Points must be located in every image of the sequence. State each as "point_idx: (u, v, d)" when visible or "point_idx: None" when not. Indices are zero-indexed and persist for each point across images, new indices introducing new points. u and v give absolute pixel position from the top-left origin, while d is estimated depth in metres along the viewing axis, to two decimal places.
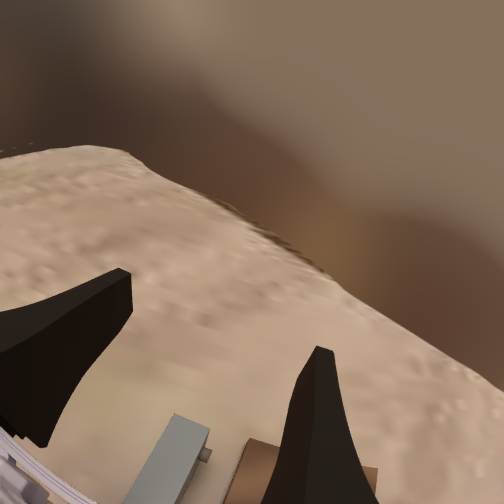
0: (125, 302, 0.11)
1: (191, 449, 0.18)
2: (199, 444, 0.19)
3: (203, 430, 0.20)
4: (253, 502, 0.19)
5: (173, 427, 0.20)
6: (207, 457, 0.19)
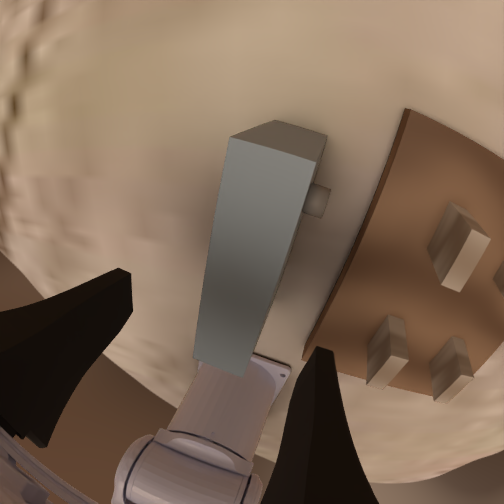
0: (125, 302, 0.11)
1: (281, 219, 0.11)
2: (294, 205, 0.10)
3: (301, 170, 0.10)
4: (405, 240, 0.15)
5: (236, 172, 0.10)
6: (319, 214, 0.11)
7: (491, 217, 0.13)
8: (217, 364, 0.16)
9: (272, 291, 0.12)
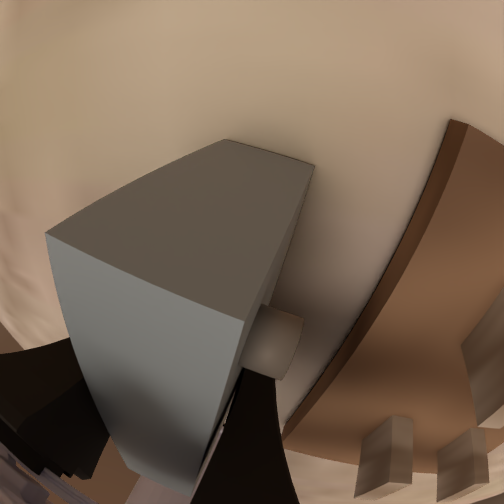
0: None
1: (183, 401, 0.04)
2: (205, 390, 0.04)
3: (205, 334, 0.03)
4: (432, 337, 0.09)
5: (78, 308, 0.04)
6: (275, 377, 0.05)
7: None
8: (157, 481, 0.10)
9: (199, 462, 0.06)
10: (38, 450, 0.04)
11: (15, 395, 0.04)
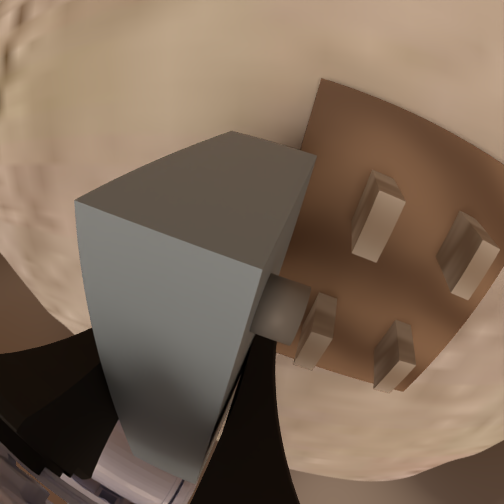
0: None
1: (198, 364, 0.05)
2: (222, 348, 0.05)
3: (226, 285, 0.04)
4: (326, 212, 0.16)
5: (101, 273, 0.05)
6: (284, 342, 0.05)
7: (425, 186, 0.13)
8: (162, 468, 0.10)
9: (208, 438, 0.07)
10: (38, 450, 0.04)
11: (15, 395, 0.04)
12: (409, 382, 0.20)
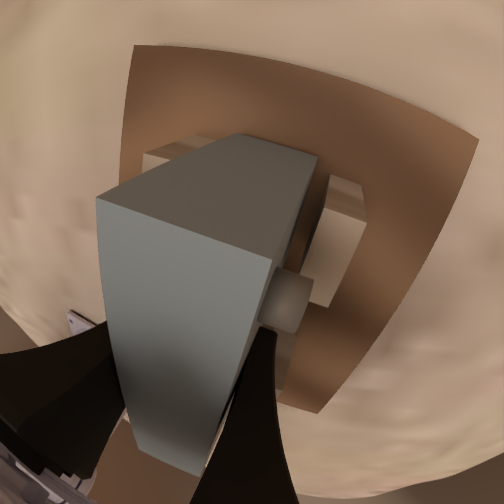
0: None
1: (210, 351, 0.05)
2: (232, 334, 0.05)
3: (239, 274, 0.04)
4: None
5: (119, 266, 0.05)
6: (289, 331, 0.06)
7: None
8: (167, 461, 0.11)
9: (215, 426, 0.07)
10: (38, 450, 0.04)
11: (15, 395, 0.04)
12: (321, 404, 0.17)
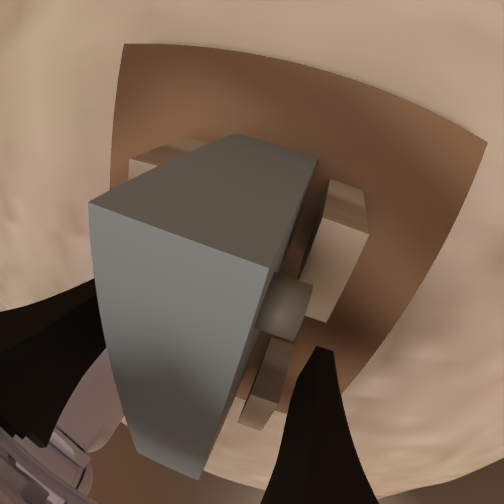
0: None
1: (206, 359, 0.05)
2: (229, 343, 0.05)
3: (235, 283, 0.04)
4: None
5: (113, 271, 0.05)
6: (287, 338, 0.06)
7: None
8: (166, 464, 0.10)
9: (213, 432, 0.07)
10: None
11: None
12: None
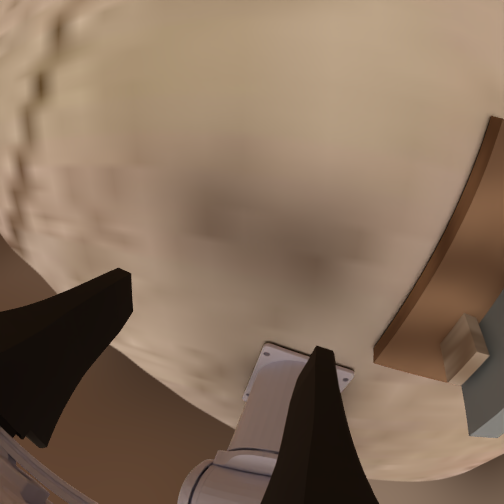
0: (125, 302, 0.11)
1: None
2: None
3: None
4: (489, 241, 0.13)
5: None
6: None
7: None
8: (487, 434, 0.11)
9: None
10: None
11: None
12: None
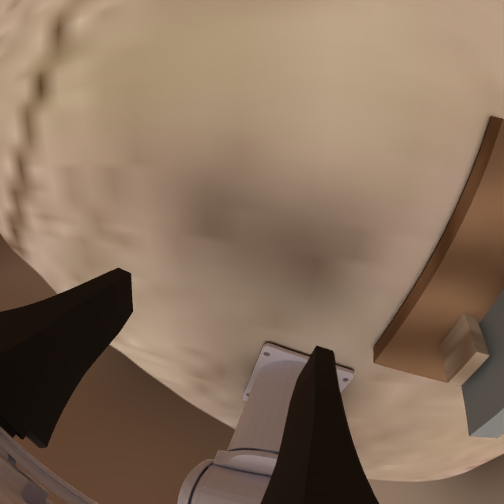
0: (125, 302, 0.11)
1: None
2: None
3: None
4: (489, 241, 0.13)
5: None
6: None
7: None
8: (487, 434, 0.11)
9: None
10: None
11: None
12: None
